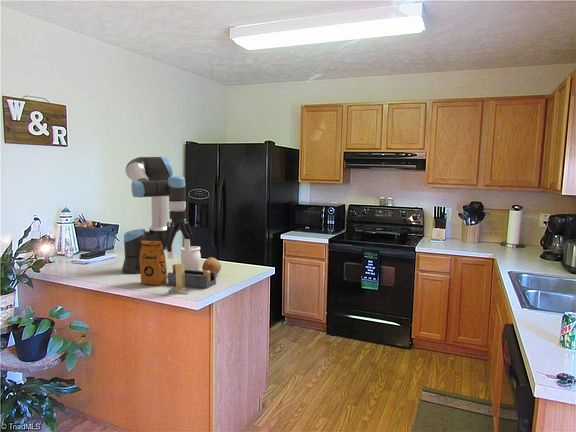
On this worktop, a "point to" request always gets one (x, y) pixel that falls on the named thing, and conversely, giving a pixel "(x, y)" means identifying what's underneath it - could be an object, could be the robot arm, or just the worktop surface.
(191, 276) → the dark grey tray
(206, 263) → the onion
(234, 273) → the worktop surface
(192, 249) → the jar
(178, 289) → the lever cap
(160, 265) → the coffee package
